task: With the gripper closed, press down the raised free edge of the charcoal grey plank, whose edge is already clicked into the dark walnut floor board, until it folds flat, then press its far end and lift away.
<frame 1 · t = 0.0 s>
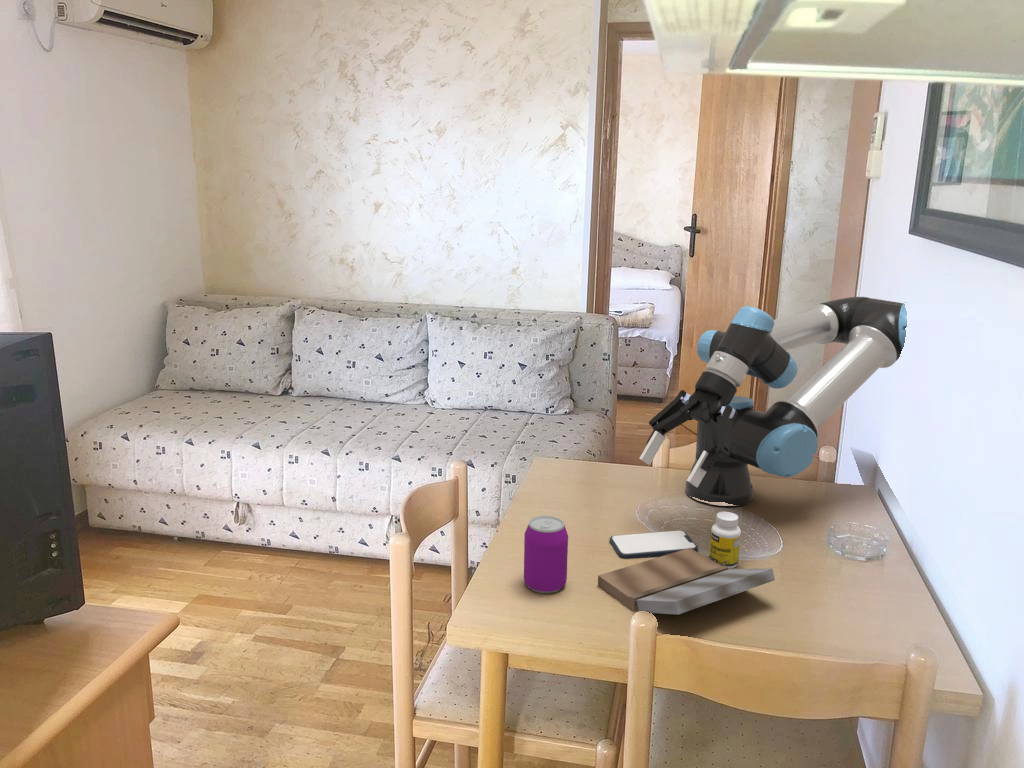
hand: (667, 472, 155), 15 cm above the table, tool tilted 35°, fingers open, 13 cm apart
supplement bottle: (723, 564, 152), on the table
walnut floor board: (663, 582, 144), on the table
beverage can: (544, 585, 143), on the table
grey plank: (706, 590, 135), point 4 cm above the table, hinge at 25.0°
smartphone: (652, 549, 159), on the table
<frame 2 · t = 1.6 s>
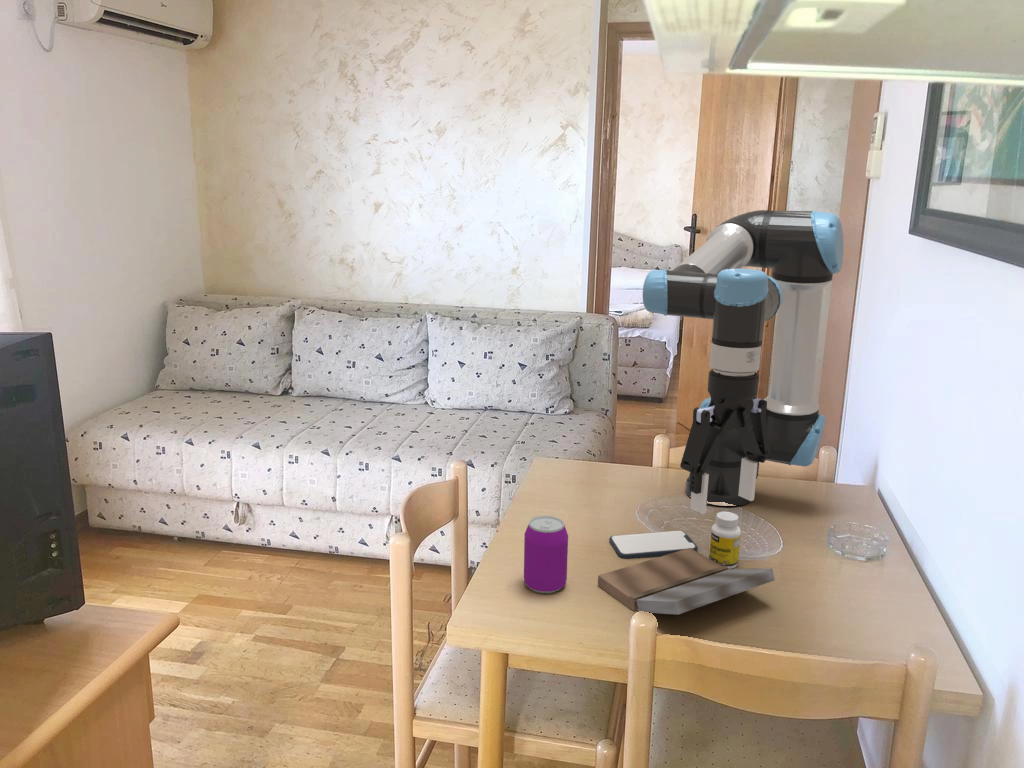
hand: (722, 504, 129), 20 cm above the table, tool pointing down, fingers open, 10 cm apart
nothing on the table moved.
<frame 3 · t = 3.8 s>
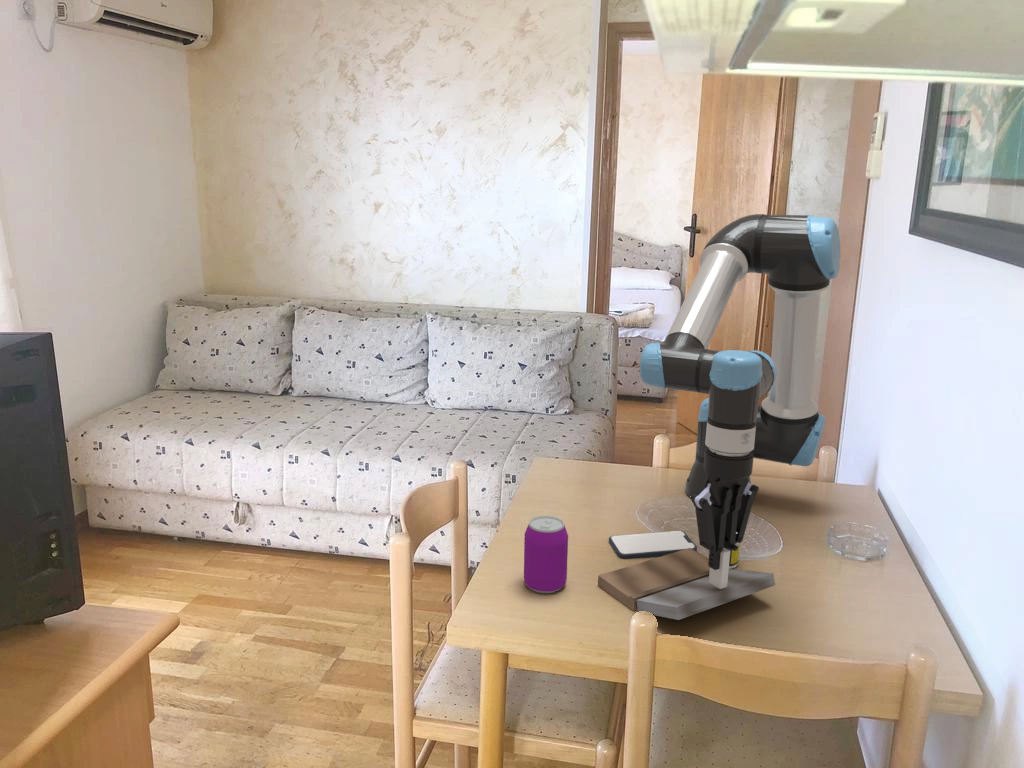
hand: (717, 584, 132), 6 cm above the table, tool pointing down, fingers closed
grey plank: (706, 592, 135), point 3 cm above the table, hinge at 20.1°, touching gripper
everything else where it was.
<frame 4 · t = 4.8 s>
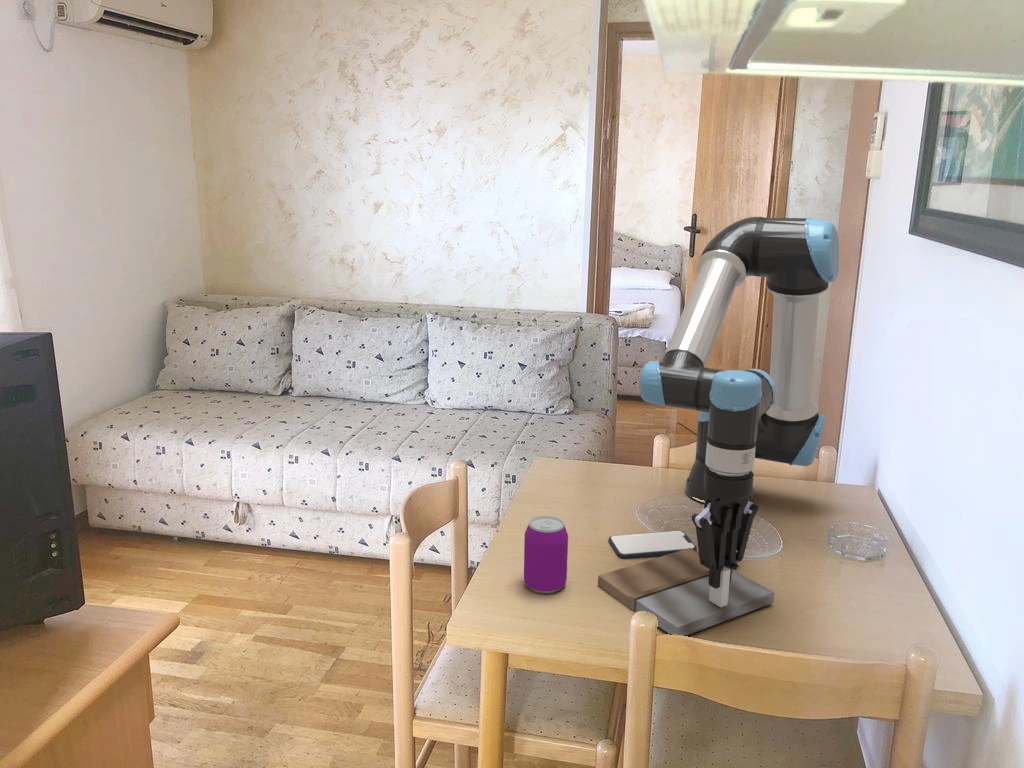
hand: (718, 602, 133), 3 cm above the table, tool pointing down, fingers closed
grey plank: (705, 601, 135), point 1 cm above the table, hinge at 1.3°, touching gripper
everything else where it was.
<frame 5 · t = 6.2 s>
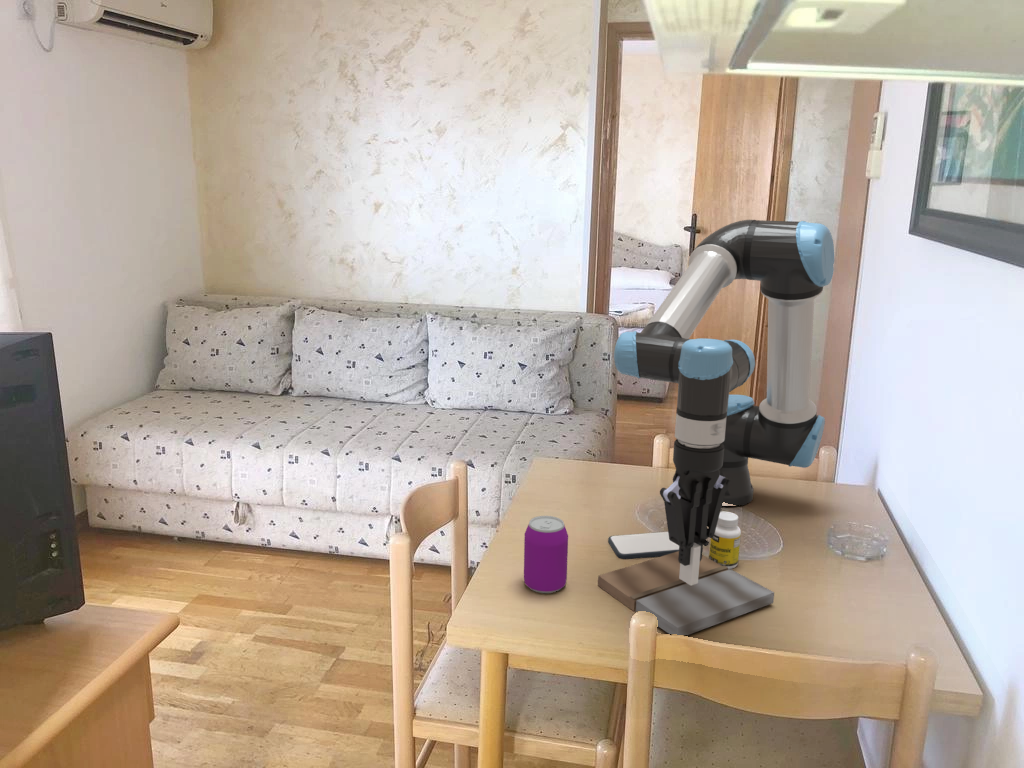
hand: (688, 580, 128), 8 cm above the table, tool pointing down, fingers closed
grey plank: (705, 601, 135), point 1 cm above the table, hinge at 1.2°
everything else where it was.
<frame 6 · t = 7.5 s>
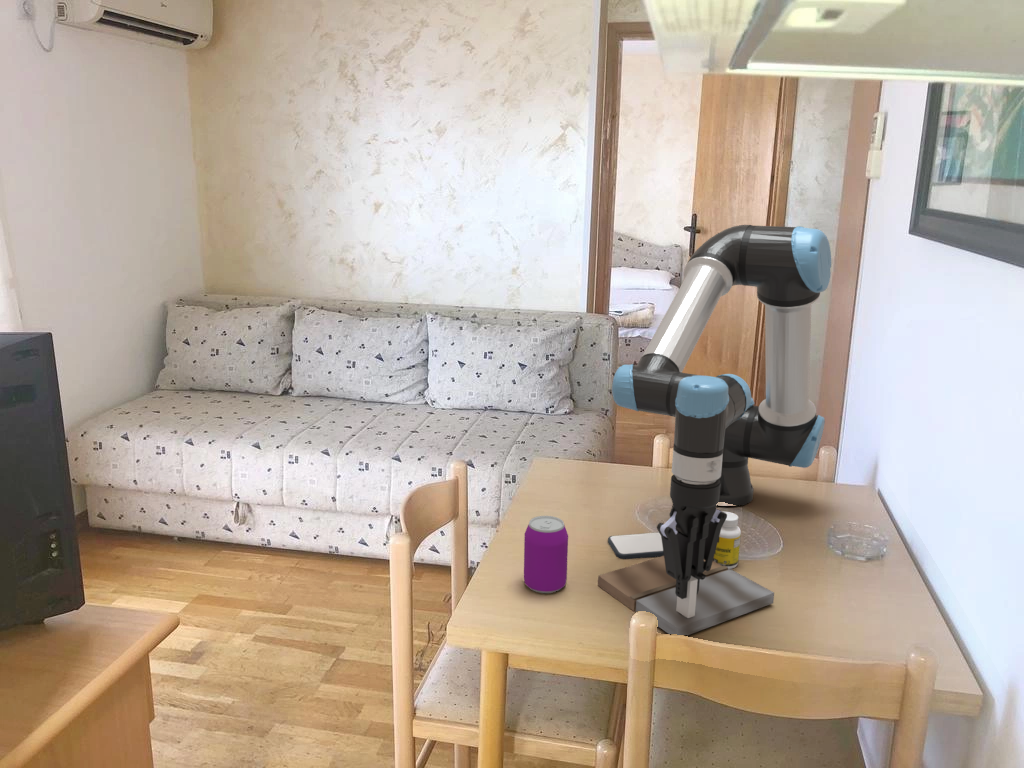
hand: (685, 613, 129), 3 cm above the table, tool pointing down, fingers closed
grey plank: (705, 601, 135), point 1 cm above the table, hinge at 0.9°, touching gripper
everything else where it was.
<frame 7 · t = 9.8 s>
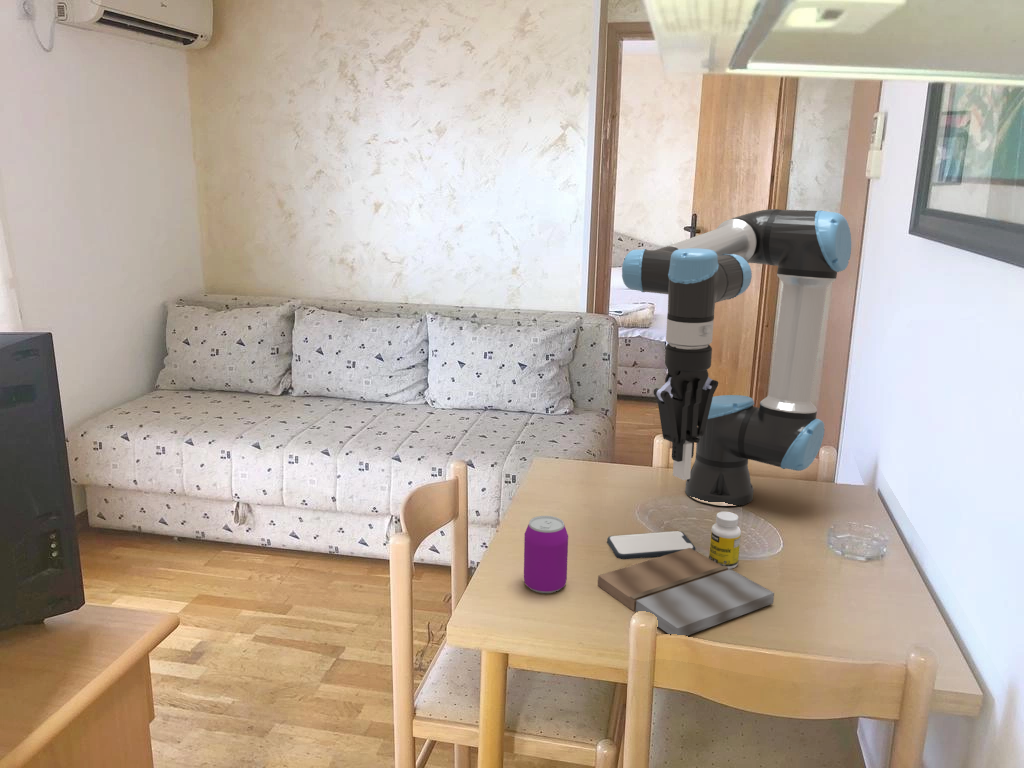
hand: (681, 476, 138), 21 cm above the table, tool pointing down, fingers closed
grey plank: (705, 601, 135), point 1 cm above the table, hinge at 0.6°
everything else where it was.
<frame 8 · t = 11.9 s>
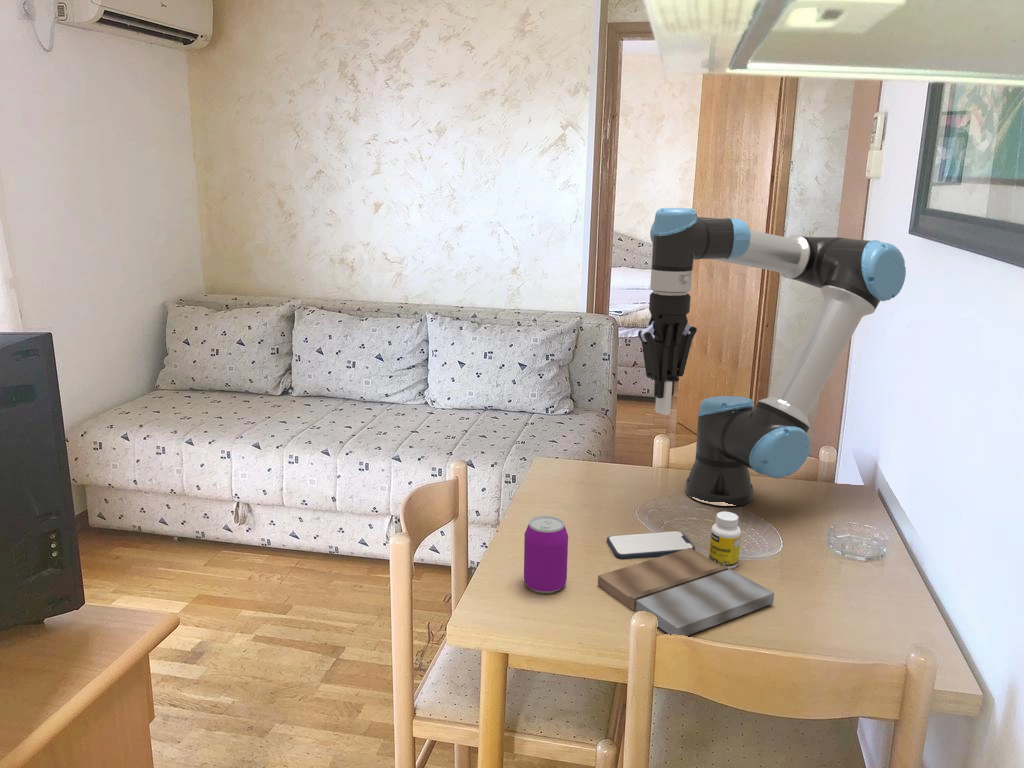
hand: (662, 412, 156), 26 cm above the table, tool pointing down, fingers closed
nothing on the table moved.
at the end: grey plank at +1° (first picture: +25°); supplement bottle moved 0.2 cm from its start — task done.
